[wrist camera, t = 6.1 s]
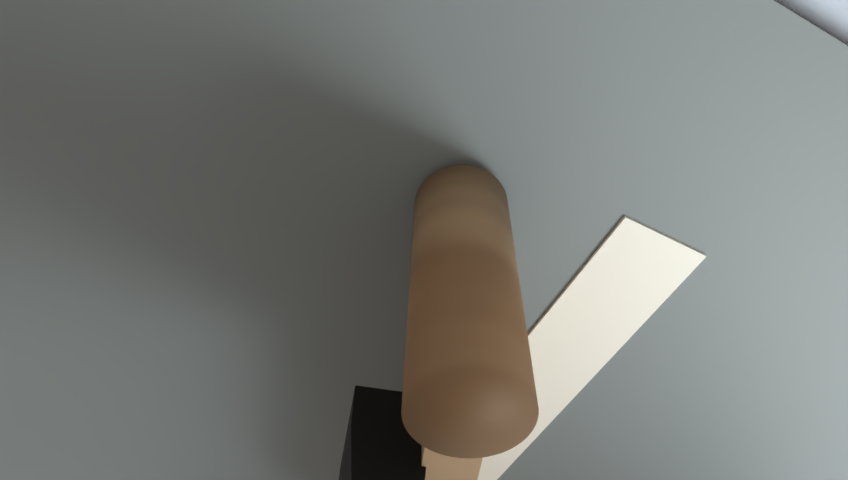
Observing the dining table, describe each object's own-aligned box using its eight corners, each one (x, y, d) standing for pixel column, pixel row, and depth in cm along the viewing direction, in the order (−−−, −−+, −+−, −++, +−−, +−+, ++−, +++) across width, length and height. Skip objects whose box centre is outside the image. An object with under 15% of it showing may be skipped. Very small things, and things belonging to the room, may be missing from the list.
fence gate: (442, 516, 17) (442, 731, 13) (378, 510, 17) (359, 725, 13) (515, 170, 11) (552, 372, 8) (419, 159, 11) (408, 358, 7)
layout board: (1218, 274, 13) (1242, 289, 13) (581, 696, 24) (584, 710, 23) (17, -466, 8) (-5, -479, 7) (-99, 514, 18) (-110, 529, 18)
